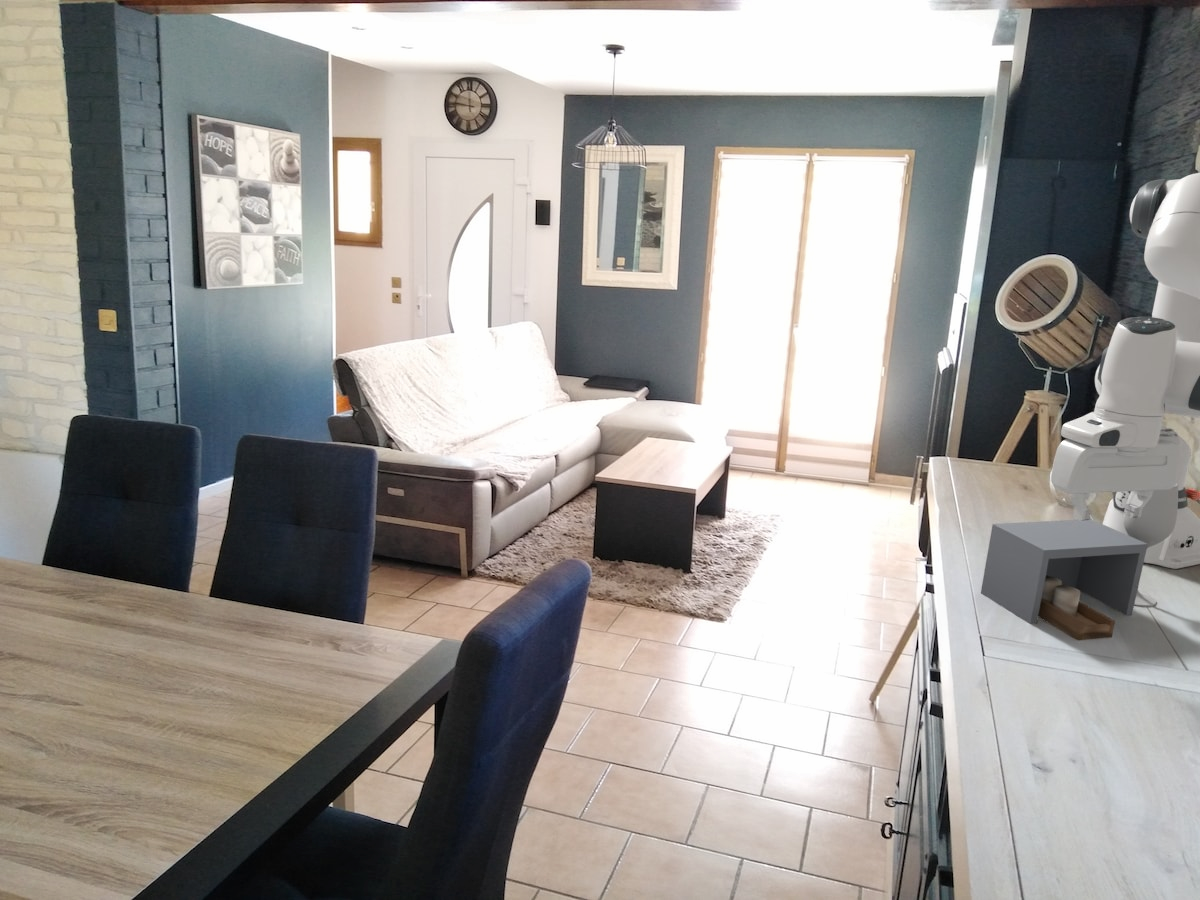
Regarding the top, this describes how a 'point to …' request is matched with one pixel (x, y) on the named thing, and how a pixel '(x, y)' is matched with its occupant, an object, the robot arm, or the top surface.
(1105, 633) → the tray
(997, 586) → the grey cover
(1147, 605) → the wineglass
